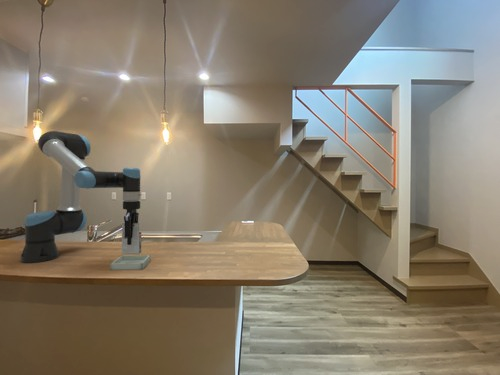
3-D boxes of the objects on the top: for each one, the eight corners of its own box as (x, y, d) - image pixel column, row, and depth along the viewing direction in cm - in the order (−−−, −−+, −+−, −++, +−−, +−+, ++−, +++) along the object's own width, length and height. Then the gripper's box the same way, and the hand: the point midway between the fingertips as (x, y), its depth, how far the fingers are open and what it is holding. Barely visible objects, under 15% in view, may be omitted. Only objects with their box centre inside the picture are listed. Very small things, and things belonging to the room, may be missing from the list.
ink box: (124, 252, 127) (124, 222, 127) (141, 252, 128) (141, 222, 127) (121, 254, 123) (121, 223, 123) (139, 254, 124) (139, 223, 124)
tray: (110, 270, 118) (110, 263, 118) (121, 261, 131) (121, 255, 131) (142, 269, 120) (142, 263, 120) (150, 260, 133) (150, 255, 133)
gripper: (133, 202, 117) (133, 254, 117) (145, 199, 133) (145, 245, 134) (116, 202, 116) (116, 255, 117) (129, 199, 133) (129, 245, 133)
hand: (131, 249), depth 125 cm, fingers closed on ink box, 4 cm apart
